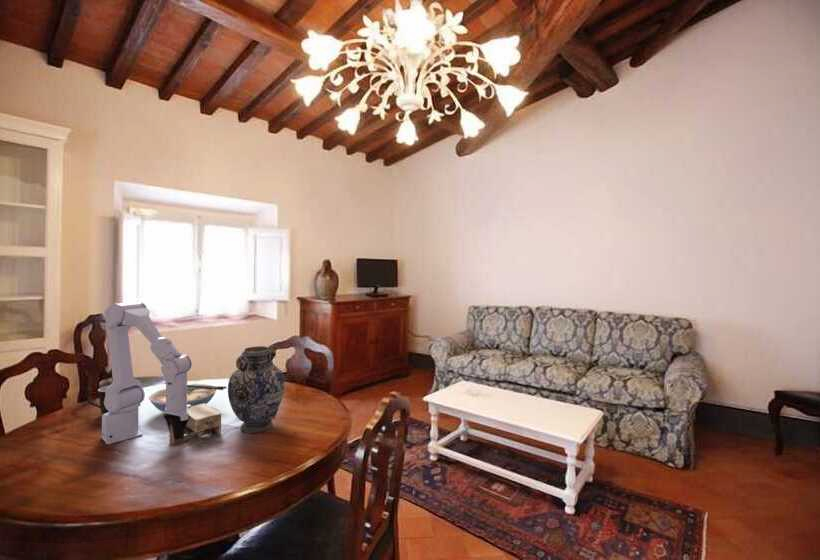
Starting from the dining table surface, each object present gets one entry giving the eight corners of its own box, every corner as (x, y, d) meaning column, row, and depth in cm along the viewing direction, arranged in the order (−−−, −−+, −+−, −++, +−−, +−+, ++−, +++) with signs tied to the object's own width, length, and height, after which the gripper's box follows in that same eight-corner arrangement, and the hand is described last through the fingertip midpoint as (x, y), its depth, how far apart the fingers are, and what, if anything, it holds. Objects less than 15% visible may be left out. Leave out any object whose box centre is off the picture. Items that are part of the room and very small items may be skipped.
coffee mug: (132, 410, 148) (132, 385, 147) (113, 419, 139) (113, 392, 139) (105, 409, 149) (105, 383, 149) (84, 417, 140) (84, 390, 140)
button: (200, 440, 124) (201, 436, 124) (196, 436, 126) (196, 432, 126) (213, 436, 127) (213, 432, 127) (208, 432, 129) (208, 429, 129)
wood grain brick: (174, 445, 119) (174, 426, 119) (169, 443, 121) (169, 424, 120) (212, 431, 130) (212, 414, 130) (207, 429, 131) (208, 412, 131)
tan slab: (196, 442, 122) (196, 420, 122) (179, 429, 132) (179, 409, 131) (222, 434, 128) (222, 413, 128) (204, 422, 138) (204, 403, 137)
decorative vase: (263, 442, 122) (263, 355, 122) (212, 437, 126) (212, 353, 126) (296, 418, 143) (296, 343, 143) (251, 414, 147) (251, 341, 147)
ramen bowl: (130, 419, 139) (130, 397, 139) (178, 399, 161) (178, 380, 161) (190, 425, 134) (190, 403, 134) (231, 403, 157) (231, 384, 157)
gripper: (199, 396, 119) (199, 439, 119) (182, 386, 128) (182, 426, 129) (173, 402, 114) (173, 447, 114) (158, 391, 123) (158, 433, 123)
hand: (176, 436), depth 121 cm, fingers closed on wood grain brick, 3 cm apart
